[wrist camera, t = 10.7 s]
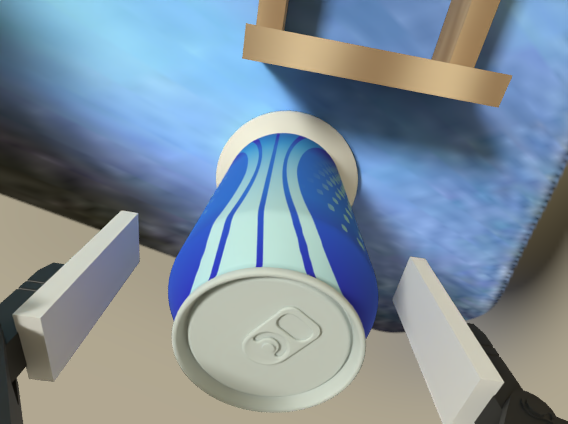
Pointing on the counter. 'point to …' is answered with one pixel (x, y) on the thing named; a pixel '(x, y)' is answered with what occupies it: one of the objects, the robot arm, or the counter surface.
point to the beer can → (274, 282)
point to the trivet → (300, 126)
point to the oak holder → (388, 54)
